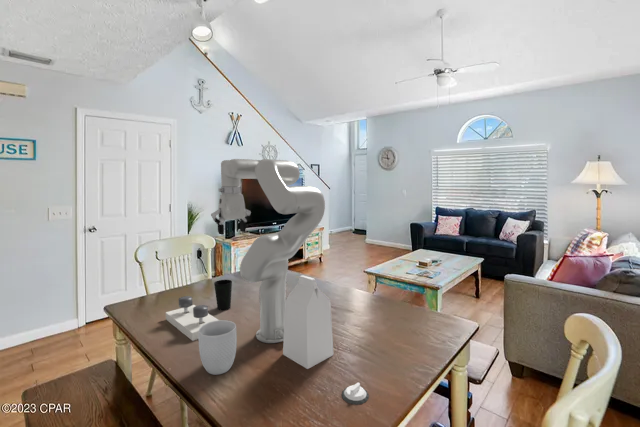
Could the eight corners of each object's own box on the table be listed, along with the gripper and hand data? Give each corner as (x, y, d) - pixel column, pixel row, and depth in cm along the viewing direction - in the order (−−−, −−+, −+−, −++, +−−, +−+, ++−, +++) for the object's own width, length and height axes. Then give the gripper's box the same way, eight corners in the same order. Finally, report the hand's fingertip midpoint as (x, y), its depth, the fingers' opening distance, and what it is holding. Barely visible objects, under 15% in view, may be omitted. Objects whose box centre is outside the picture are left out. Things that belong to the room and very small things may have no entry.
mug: (207, 353, 109) (206, 315, 107) (241, 351, 110) (240, 314, 109) (195, 380, 94) (193, 337, 93) (234, 378, 95) (233, 335, 94)
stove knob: (336, 398, 87) (336, 388, 86) (351, 384, 92) (351, 375, 92) (359, 410, 82) (360, 399, 82) (374, 395, 88) (374, 384, 88)
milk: (282, 354, 108) (281, 277, 106) (308, 342, 116) (308, 270, 114) (307, 369, 100) (306, 285, 97) (333, 354, 108) (333, 277, 105)
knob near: (210, 322, 126) (210, 307, 125) (197, 326, 122) (196, 311, 121) (204, 318, 129) (203, 303, 129) (191, 322, 126) (190, 307, 125)
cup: (235, 305, 151) (234, 279, 150) (229, 311, 144) (228, 285, 142) (219, 304, 152) (218, 279, 151) (212, 311, 144) (211, 284, 143)
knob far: (194, 312, 135) (194, 298, 135) (182, 316, 132) (181, 301, 131) (189, 308, 139) (189, 295, 139) (177, 312, 136) (176, 298, 135)
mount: (223, 330, 126) (223, 322, 125) (192, 341, 117) (192, 332, 117) (194, 311, 144) (194, 304, 144) (165, 319, 136) (165, 312, 136)
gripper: (215, 192, 124) (216, 236, 126) (254, 190, 136) (255, 231, 138) (206, 191, 130) (207, 234, 132) (245, 190, 142) (246, 229, 143)
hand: (232, 232), depth 135 cm, fingers open, 9 cm apart
